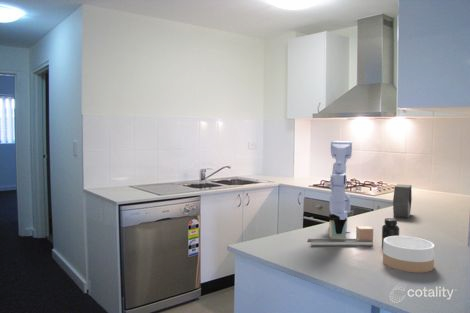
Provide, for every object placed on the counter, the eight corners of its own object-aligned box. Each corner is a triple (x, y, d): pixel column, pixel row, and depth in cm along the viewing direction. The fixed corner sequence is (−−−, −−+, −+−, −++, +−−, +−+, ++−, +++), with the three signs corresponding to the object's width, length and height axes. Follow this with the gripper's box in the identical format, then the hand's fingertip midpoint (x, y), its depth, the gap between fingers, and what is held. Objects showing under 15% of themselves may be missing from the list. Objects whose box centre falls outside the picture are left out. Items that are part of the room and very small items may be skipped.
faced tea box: (356, 242, 167) (356, 226, 167) (369, 242, 167) (369, 226, 167) (359, 244, 163) (359, 228, 162) (373, 244, 163) (373, 228, 163)
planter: (407, 212, 206) (410, 178, 214) (391, 210, 210) (395, 177, 218) (409, 223, 219) (412, 191, 227) (395, 222, 223) (398, 190, 231)
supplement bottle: (384, 243, 165) (385, 216, 164) (401, 246, 160) (402, 218, 159) (379, 247, 159) (380, 219, 158) (396, 250, 155) (397, 221, 154)
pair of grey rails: (307, 240, 169) (308, 236, 168) (365, 240, 169) (366, 236, 169) (311, 246, 161) (311, 241, 160) (372, 246, 161) (372, 241, 161)
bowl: (390, 253, 152) (391, 233, 151) (438, 263, 141) (439, 241, 140) (376, 265, 139) (376, 242, 138) (427, 276, 128) (428, 252, 127)
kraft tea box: (329, 235, 167) (329, 220, 166) (342, 235, 167) (343, 220, 166) (331, 238, 163) (331, 222, 162) (345, 238, 163) (345, 222, 162)
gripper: (352, 204, 157) (351, 236, 157) (342, 198, 171) (341, 227, 172) (335, 204, 156) (334, 236, 157) (326, 198, 171) (326, 227, 172)
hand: (337, 232), depth 165 cm, fingers closed on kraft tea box, 4 cm apart
